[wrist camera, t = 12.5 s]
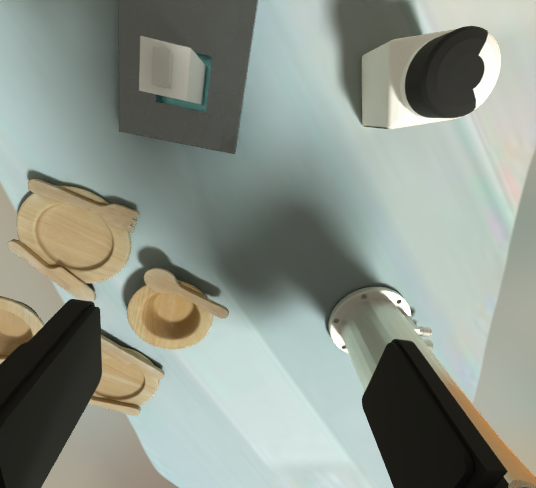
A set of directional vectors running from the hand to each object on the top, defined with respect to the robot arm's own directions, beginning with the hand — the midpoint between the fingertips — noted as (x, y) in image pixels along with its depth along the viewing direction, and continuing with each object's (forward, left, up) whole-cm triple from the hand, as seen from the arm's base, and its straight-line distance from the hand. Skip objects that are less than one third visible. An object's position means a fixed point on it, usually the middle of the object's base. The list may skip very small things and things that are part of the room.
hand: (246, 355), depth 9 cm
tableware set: (+18, +23, -29) cm, 41 cm away
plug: (+8, -9, -28) cm, 30 cm away
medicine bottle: (-14, -13, -28) cm, 34 cm away
